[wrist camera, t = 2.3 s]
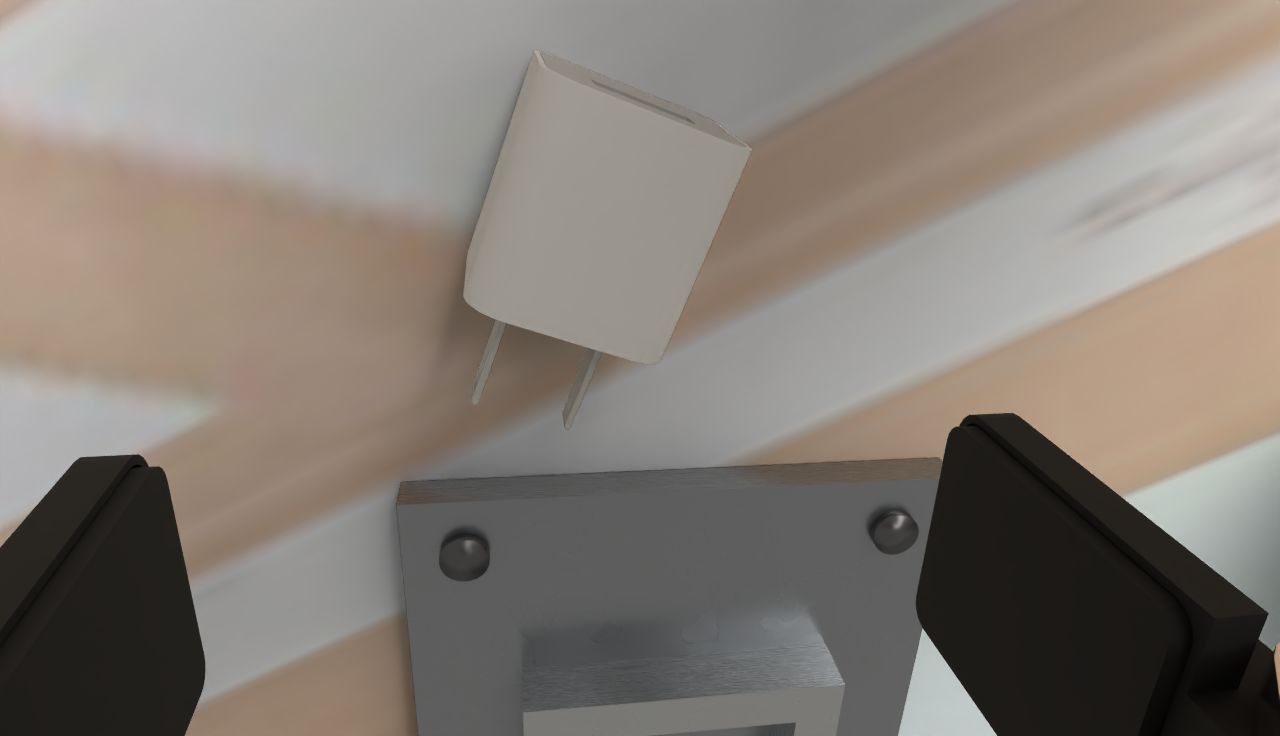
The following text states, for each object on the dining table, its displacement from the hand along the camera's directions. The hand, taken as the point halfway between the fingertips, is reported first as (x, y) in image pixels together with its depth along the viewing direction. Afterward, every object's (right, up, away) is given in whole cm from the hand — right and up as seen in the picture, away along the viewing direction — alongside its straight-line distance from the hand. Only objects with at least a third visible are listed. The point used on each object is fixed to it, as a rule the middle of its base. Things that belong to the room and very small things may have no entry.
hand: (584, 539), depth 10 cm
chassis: (+1, -9, +15) cm, 18 cm away
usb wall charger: (-1, +5, +9) cm, 10 cm away
